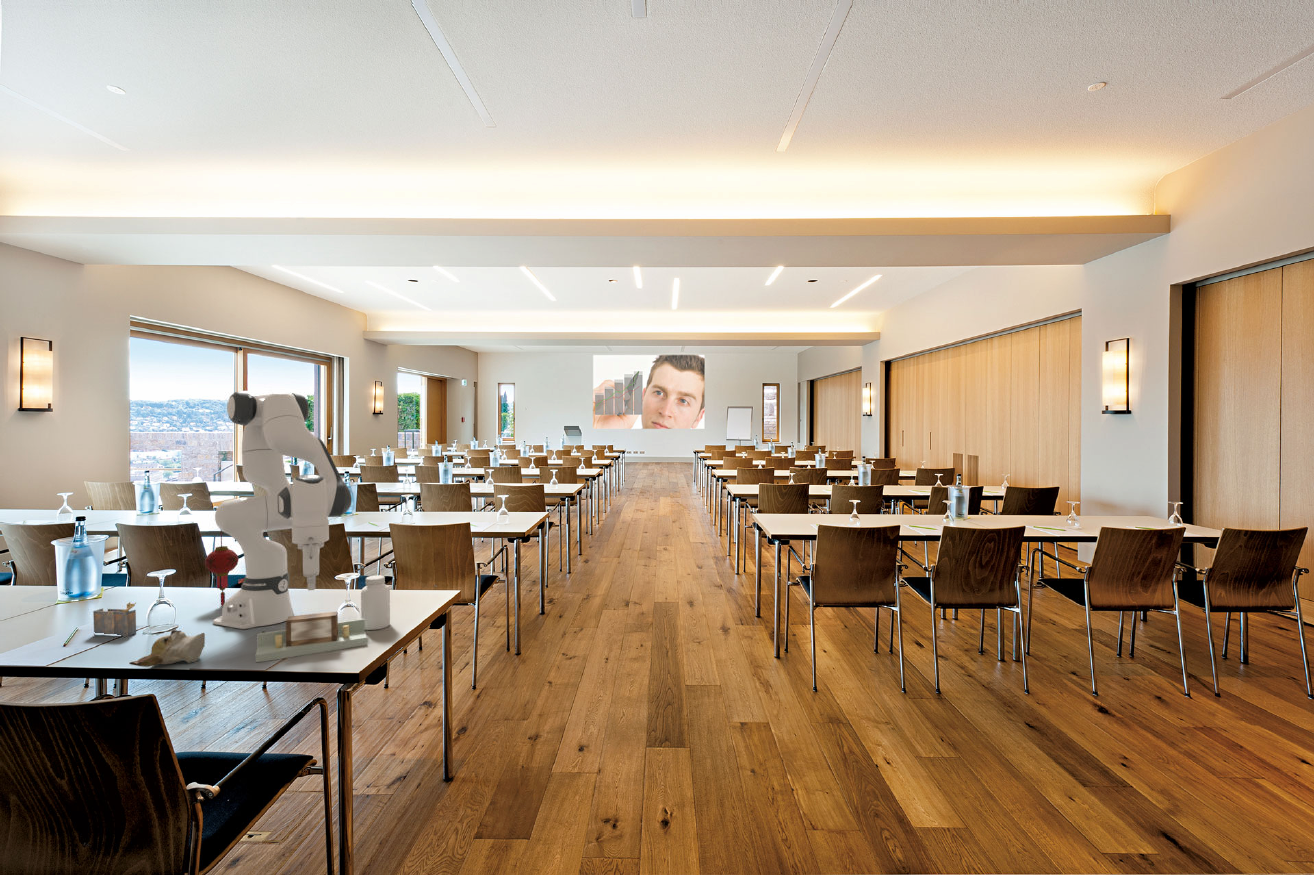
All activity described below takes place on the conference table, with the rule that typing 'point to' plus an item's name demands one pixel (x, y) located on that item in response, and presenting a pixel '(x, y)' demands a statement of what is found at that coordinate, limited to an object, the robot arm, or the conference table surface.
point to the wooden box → (311, 628)
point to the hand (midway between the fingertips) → (311, 585)
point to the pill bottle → (375, 603)
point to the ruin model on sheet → (115, 621)
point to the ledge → (275, 644)
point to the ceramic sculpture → (173, 649)
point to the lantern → (221, 566)
